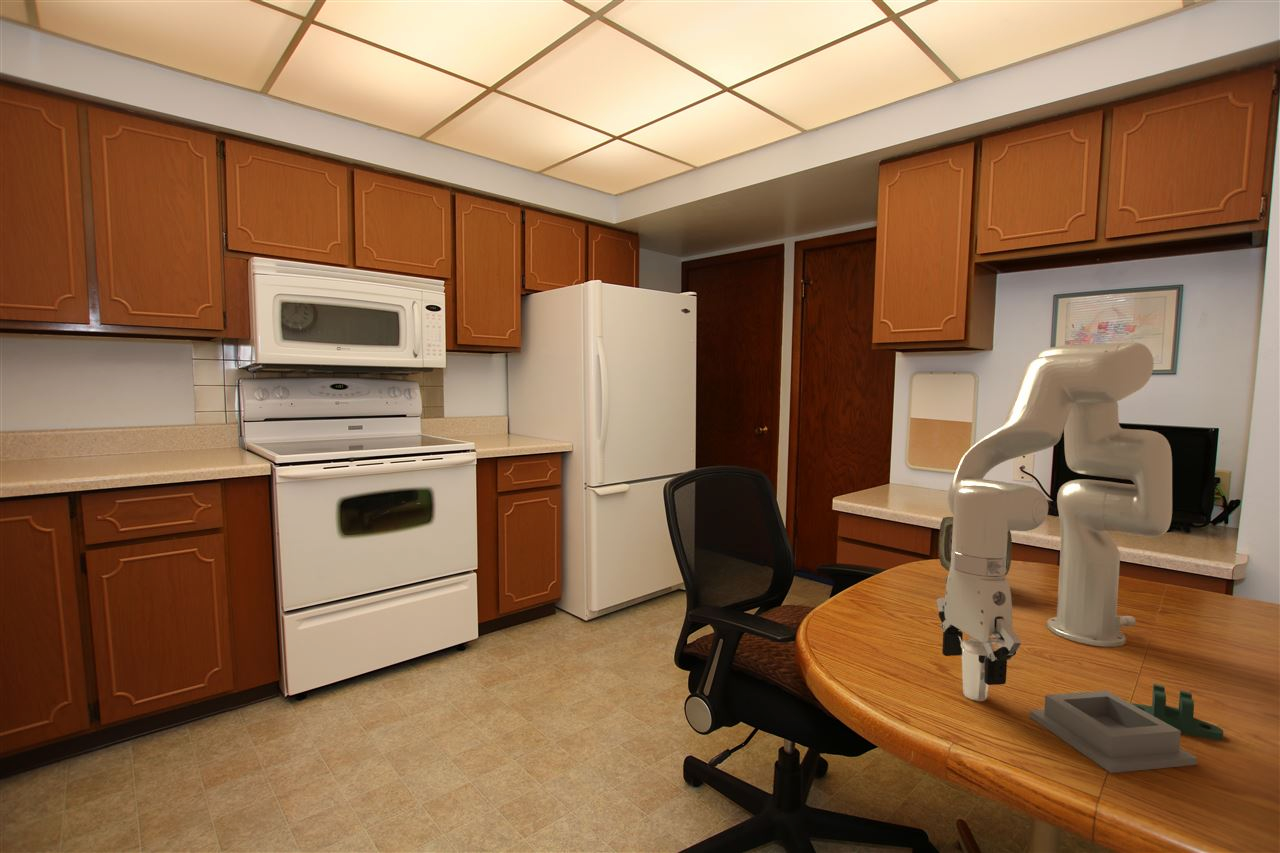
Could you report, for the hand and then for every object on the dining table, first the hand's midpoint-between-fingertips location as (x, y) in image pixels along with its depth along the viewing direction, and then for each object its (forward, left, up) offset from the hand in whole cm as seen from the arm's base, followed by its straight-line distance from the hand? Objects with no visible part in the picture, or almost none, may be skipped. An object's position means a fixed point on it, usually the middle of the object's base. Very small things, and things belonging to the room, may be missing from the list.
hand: (972, 668), depth 93 cm
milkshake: (0, 0, -5) cm, 5 cm away
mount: (-25, +11, -5) cm, 27 cm away
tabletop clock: (-37, -47, -5) cm, 60 cm away
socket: (-11, +13, -5) cm, 18 cm away
